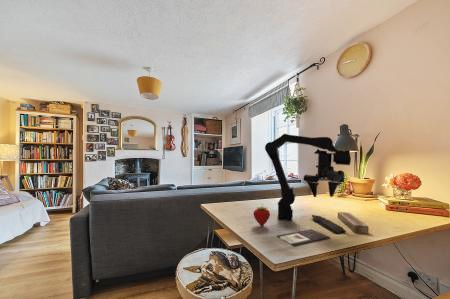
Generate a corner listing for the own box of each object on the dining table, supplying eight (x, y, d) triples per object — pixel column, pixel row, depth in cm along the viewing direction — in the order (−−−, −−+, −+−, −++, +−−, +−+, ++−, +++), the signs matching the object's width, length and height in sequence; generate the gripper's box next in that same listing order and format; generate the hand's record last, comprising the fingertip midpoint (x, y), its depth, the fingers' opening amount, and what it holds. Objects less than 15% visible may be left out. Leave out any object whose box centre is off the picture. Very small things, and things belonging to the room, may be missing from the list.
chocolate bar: (329, 237, 79) (294, 244, 72) (329, 239, 79) (294, 247, 72) (311, 229, 87) (277, 235, 80) (311, 231, 87) (277, 237, 80)
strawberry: (251, 224, 94) (251, 202, 94) (266, 223, 95) (266, 201, 96) (256, 228, 88) (256, 205, 88) (272, 227, 90) (272, 204, 90)
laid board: (353, 232, 86) (353, 224, 86) (337, 217, 106) (337, 211, 106) (368, 233, 85) (368, 225, 85) (349, 218, 105) (349, 212, 105)
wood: (353, 235, 84) (353, 227, 84) (336, 235, 83) (336, 228, 83) (321, 218, 106) (322, 212, 106) (308, 218, 105) (308, 212, 105)
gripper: (320, 164, 87) (318, 201, 87) (355, 165, 92) (353, 200, 92) (303, 162, 98) (302, 195, 97) (335, 163, 103) (334, 195, 103)
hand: (323, 196), depth 97 cm, fingers open, 9 cm apart
